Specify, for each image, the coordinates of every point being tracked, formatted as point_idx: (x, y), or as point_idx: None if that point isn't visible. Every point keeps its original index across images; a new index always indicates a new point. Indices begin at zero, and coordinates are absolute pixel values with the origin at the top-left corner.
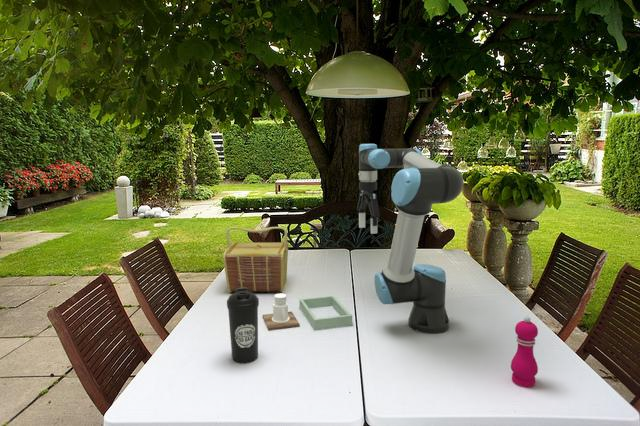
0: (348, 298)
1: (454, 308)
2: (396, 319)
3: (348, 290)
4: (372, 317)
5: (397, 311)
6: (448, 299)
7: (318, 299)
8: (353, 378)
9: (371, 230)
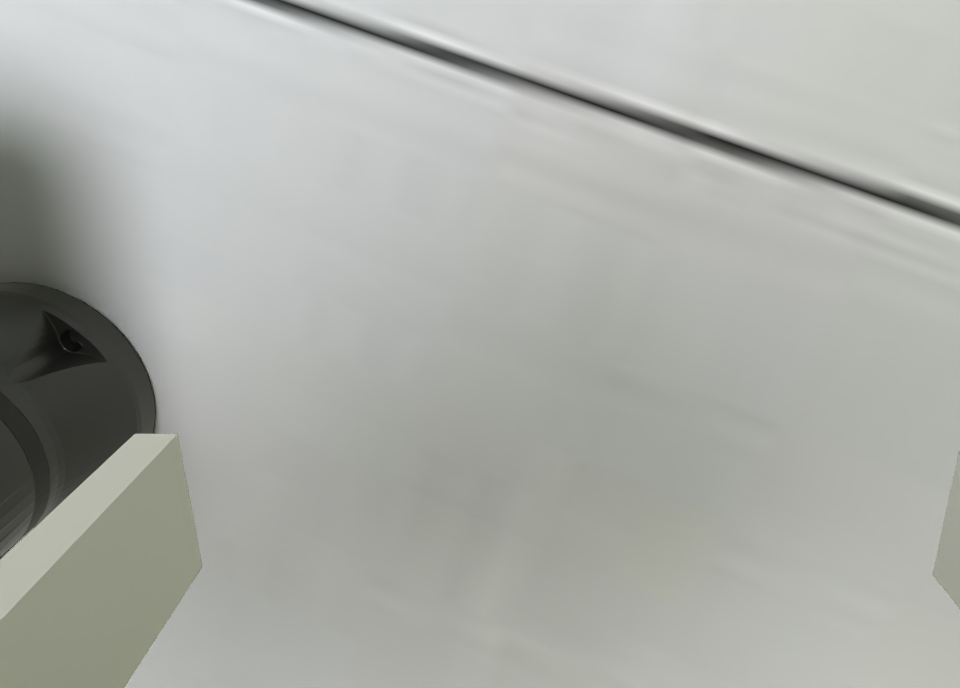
0: (653, 68)
1: (273, 635)
2: (159, 258)
3: (845, 135)
4: (217, 114)
5: (292, 321)
6: (418, 675)
7: None
8: None
9: (94, 479)
